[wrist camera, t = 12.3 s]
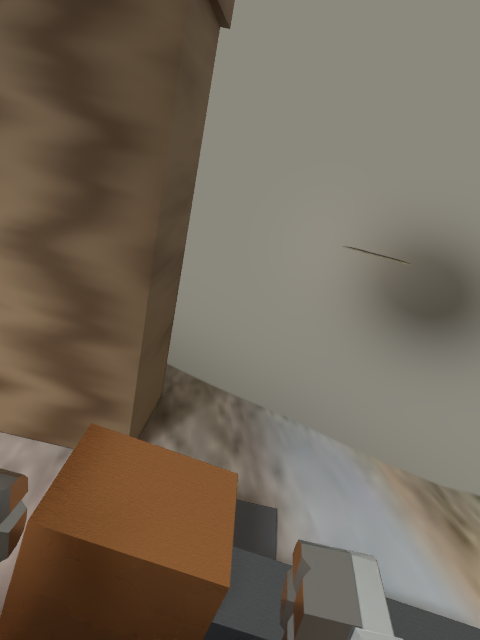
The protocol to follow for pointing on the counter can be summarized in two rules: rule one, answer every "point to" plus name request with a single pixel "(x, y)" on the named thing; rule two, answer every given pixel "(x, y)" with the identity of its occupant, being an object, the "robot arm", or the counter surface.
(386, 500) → the counter surface
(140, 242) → the stand
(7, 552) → the robot arm
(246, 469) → the counter surface
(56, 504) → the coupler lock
